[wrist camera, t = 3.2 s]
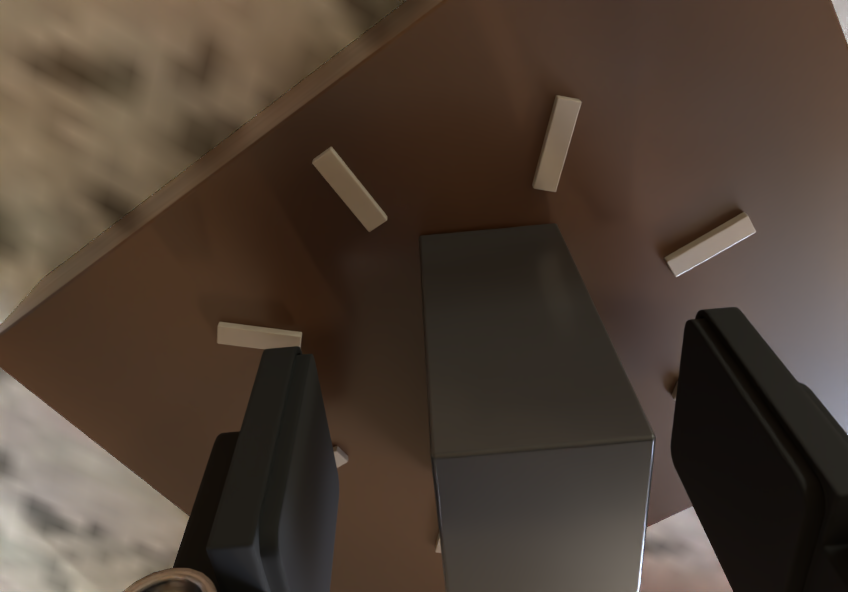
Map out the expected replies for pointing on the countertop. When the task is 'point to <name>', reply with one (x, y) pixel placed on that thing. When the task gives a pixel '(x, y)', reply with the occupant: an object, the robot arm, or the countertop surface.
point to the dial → (529, 420)
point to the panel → (458, 212)
